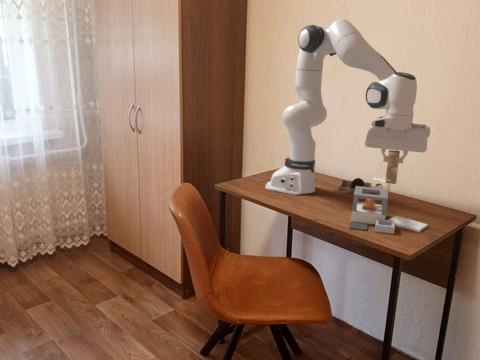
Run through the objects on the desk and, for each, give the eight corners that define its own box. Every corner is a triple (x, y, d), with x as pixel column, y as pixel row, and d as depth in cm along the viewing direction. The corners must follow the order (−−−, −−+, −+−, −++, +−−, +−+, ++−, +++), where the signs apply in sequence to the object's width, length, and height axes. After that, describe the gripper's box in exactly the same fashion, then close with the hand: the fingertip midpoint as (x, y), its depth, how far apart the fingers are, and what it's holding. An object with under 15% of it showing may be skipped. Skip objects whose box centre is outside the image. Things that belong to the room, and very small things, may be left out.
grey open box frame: (350, 221, 174) (353, 194, 171) (352, 211, 185) (355, 185, 182) (384, 225, 171) (387, 198, 168) (384, 215, 182) (387, 189, 179)
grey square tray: (374, 231, 165) (375, 224, 164) (375, 225, 171) (375, 218, 170) (393, 234, 163) (394, 227, 163) (393, 227, 169) (394, 221, 169)
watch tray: (337, 192, 208) (338, 187, 208) (340, 184, 221) (341, 179, 221) (370, 196, 205) (370, 191, 204) (371, 188, 218) (371, 182, 217)
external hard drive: (395, 219, 180) (427, 227, 172) (386, 224, 174) (419, 233, 166) (396, 215, 180) (428, 223, 172) (386, 220, 174) (419, 229, 166)
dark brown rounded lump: (356, 188, 216) (357, 173, 214) (363, 194, 208) (365, 178, 207) (339, 189, 214) (341, 173, 212) (346, 194, 207) (348, 178, 205)
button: (364, 209, 176) (365, 199, 175) (364, 206, 179) (365, 196, 178) (373, 210, 175) (375, 200, 174) (374, 207, 178) (375, 197, 177)
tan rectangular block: (385, 183, 161) (388, 151, 158) (385, 180, 164) (388, 149, 161) (396, 184, 160) (399, 152, 157) (395, 181, 163) (399, 150, 160)
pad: (349, 228, 167) (349, 227, 166) (350, 223, 172) (350, 221, 172) (366, 231, 165) (366, 229, 165) (367, 225, 171) (367, 224, 170)
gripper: (430, 123, 157) (424, 163, 161) (367, 118, 162) (363, 157, 166) (432, 126, 151) (425, 167, 155) (367, 121, 156) (362, 161, 160)
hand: (392, 162), depth 160 cm, fingers closed on tan rectangular block, 3 cm apart
